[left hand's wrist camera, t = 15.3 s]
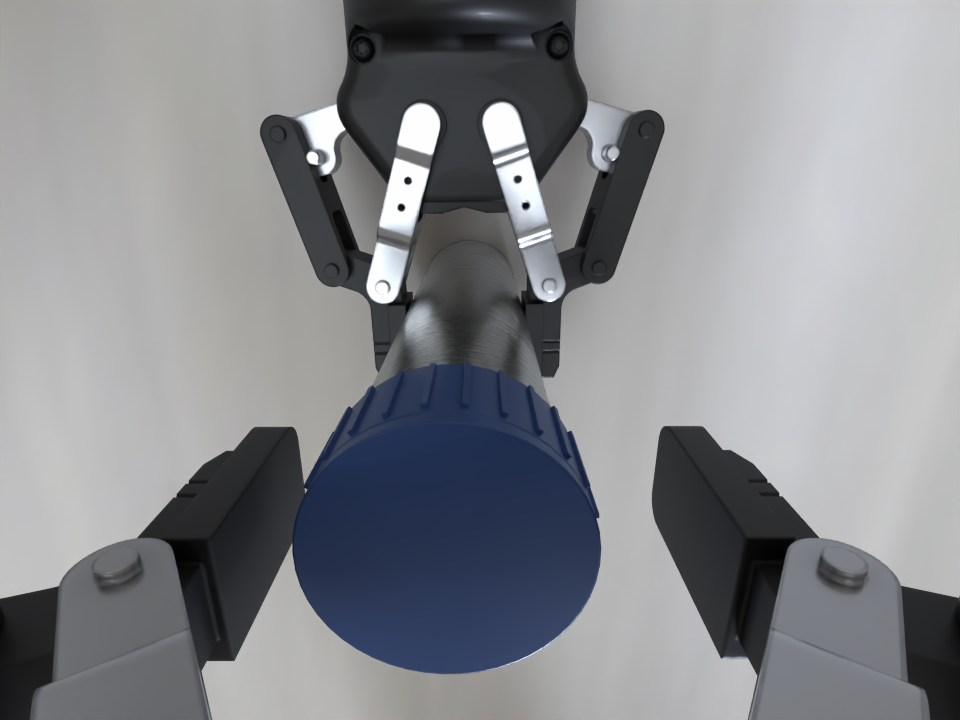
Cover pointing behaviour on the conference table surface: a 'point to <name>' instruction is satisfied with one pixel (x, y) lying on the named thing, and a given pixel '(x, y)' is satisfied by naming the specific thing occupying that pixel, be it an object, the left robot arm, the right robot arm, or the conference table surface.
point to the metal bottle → (466, 318)
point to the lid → (448, 523)
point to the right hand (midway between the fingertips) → (468, 383)
